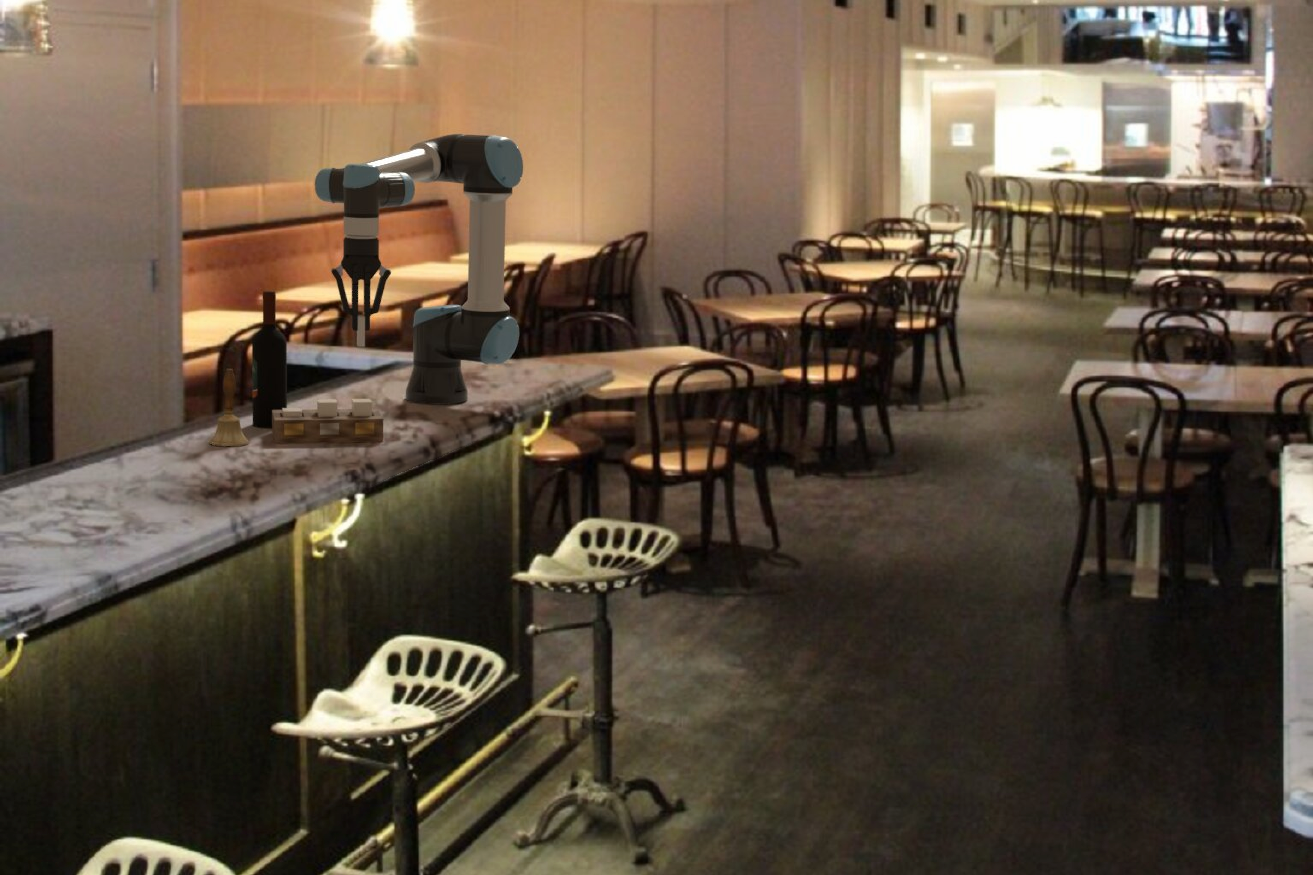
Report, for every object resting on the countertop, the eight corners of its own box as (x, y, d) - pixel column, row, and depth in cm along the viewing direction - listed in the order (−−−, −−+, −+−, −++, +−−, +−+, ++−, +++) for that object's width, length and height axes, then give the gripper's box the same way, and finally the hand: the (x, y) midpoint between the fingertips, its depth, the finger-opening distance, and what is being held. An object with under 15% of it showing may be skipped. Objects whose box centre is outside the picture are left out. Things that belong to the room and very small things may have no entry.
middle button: (335, 421, 396) (335, 399, 395) (337, 425, 392) (337, 402, 391) (317, 421, 395) (317, 399, 394) (318, 425, 391) (318, 402, 390)
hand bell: (230, 437, 390) (229, 364, 387) (257, 443, 385) (256, 369, 382) (200, 443, 383) (199, 368, 380) (227, 448, 379) (226, 373, 375)
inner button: (370, 421, 398) (370, 398, 397) (372, 424, 394) (372, 402, 393) (351, 421, 397) (352, 399, 396) (353, 424, 393) (353, 402, 392)
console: (377, 430, 403) (377, 408, 402) (383, 441, 391) (383, 419, 390) (272, 432, 397) (272, 409, 396) (274, 443, 385) (274, 420, 384)
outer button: (301, 430, 395) (300, 407, 394) (302, 434, 391) (302, 411, 390) (282, 430, 394) (282, 408, 393) (283, 434, 390) (283, 411, 389)
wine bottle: (270, 429, 400) (269, 294, 394) (245, 425, 404) (244, 291, 398) (294, 424, 406) (293, 292, 400) (269, 420, 410) (268, 289, 404)
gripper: (389, 235, 393) (389, 343, 397) (329, 234, 390) (329, 343, 394) (393, 238, 386) (392, 348, 390) (331, 238, 382) (331, 348, 387)
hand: (360, 345), depth 392 cm, fingers closed
